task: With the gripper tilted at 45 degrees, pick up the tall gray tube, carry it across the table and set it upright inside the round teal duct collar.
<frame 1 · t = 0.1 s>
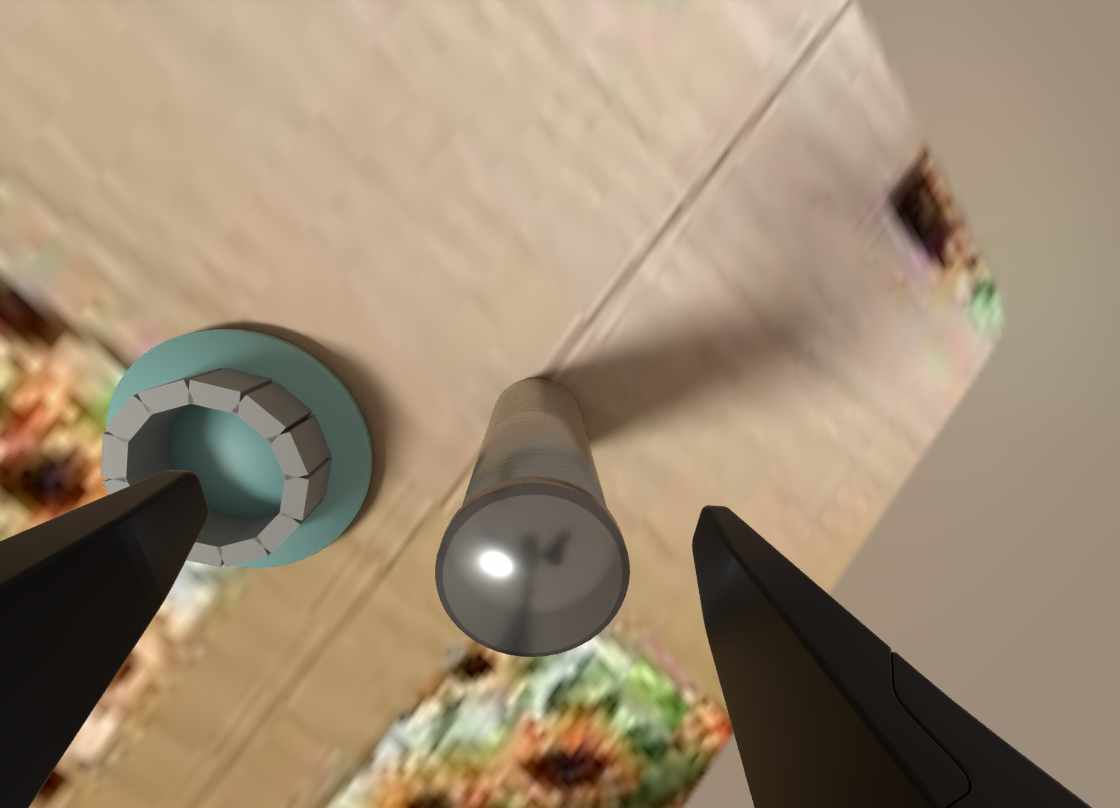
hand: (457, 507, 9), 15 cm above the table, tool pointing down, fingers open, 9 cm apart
gray tube: (536, 421, 25), on the table
duct collar: (248, 451, 25), on the table
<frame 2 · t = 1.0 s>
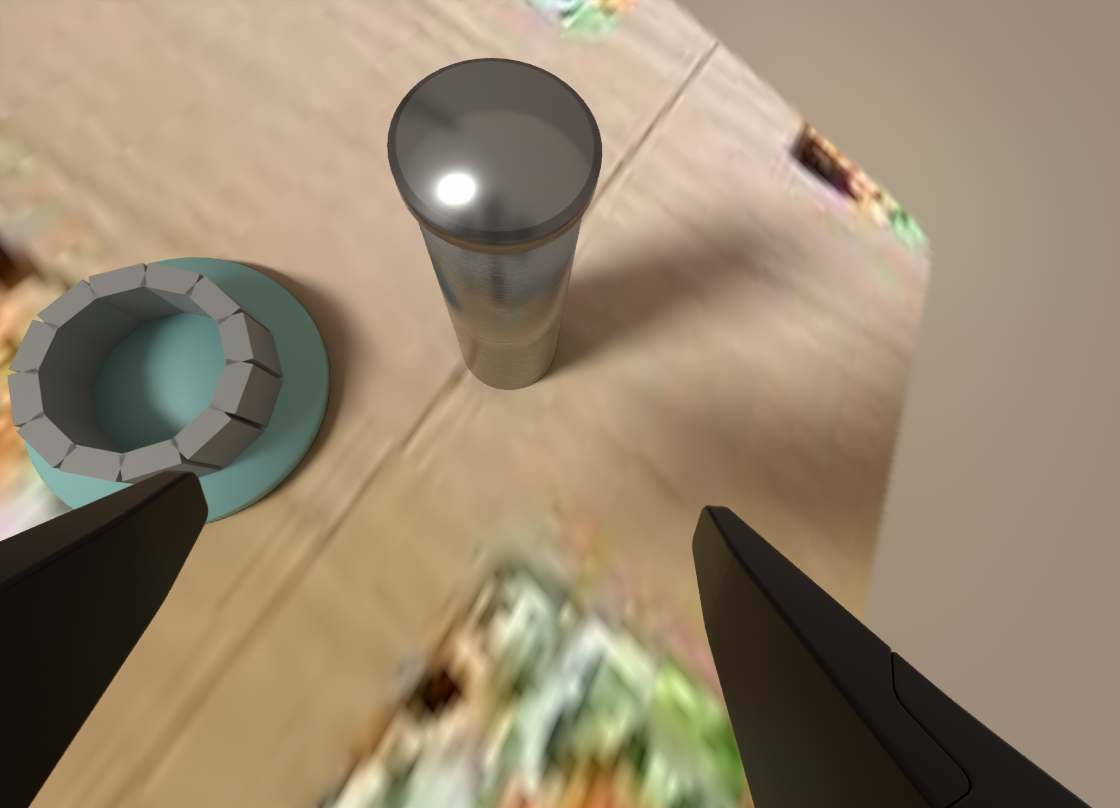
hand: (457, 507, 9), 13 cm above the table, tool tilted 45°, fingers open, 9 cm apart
gray tube: (509, 345, 24), on the table
duct collar: (189, 389, 22), on the table
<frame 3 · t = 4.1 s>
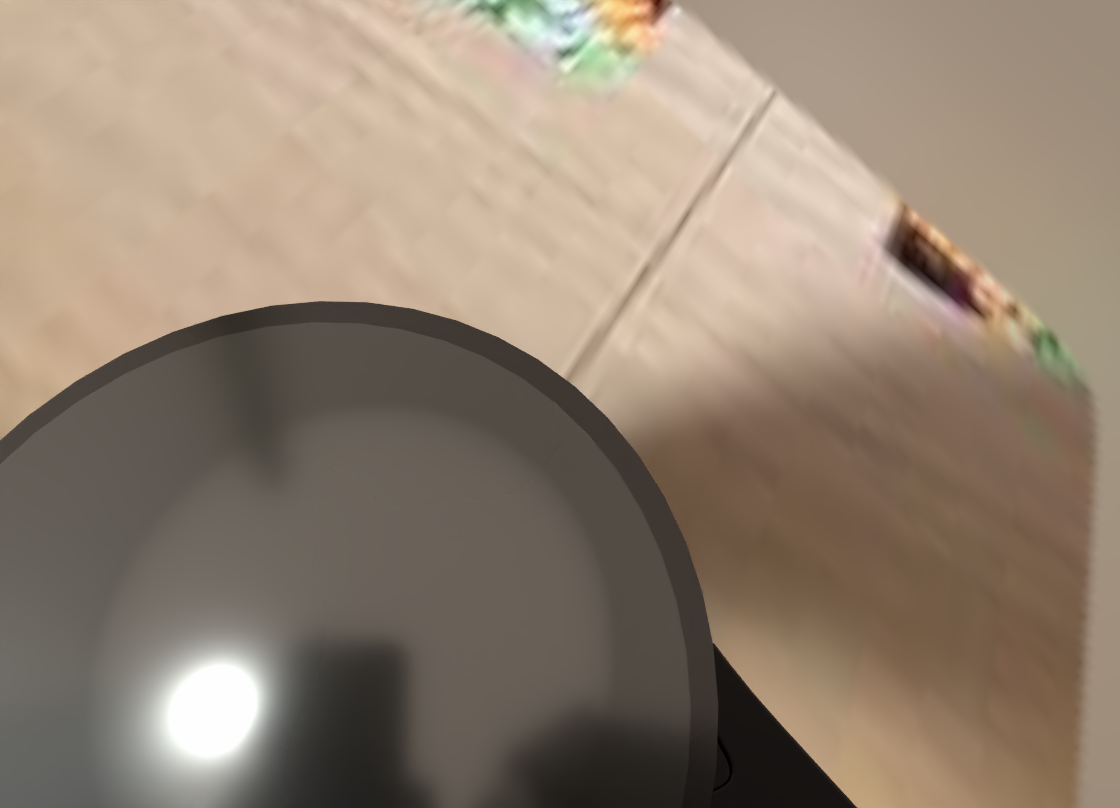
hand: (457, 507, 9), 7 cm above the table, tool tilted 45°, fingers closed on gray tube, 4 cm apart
gray tube: (479, 567, 15), on the table, touching gripper
when the fingers open (9 cm above the table, at t = 7.4 s): gray tube drops 1 cm, resting on duct collar.
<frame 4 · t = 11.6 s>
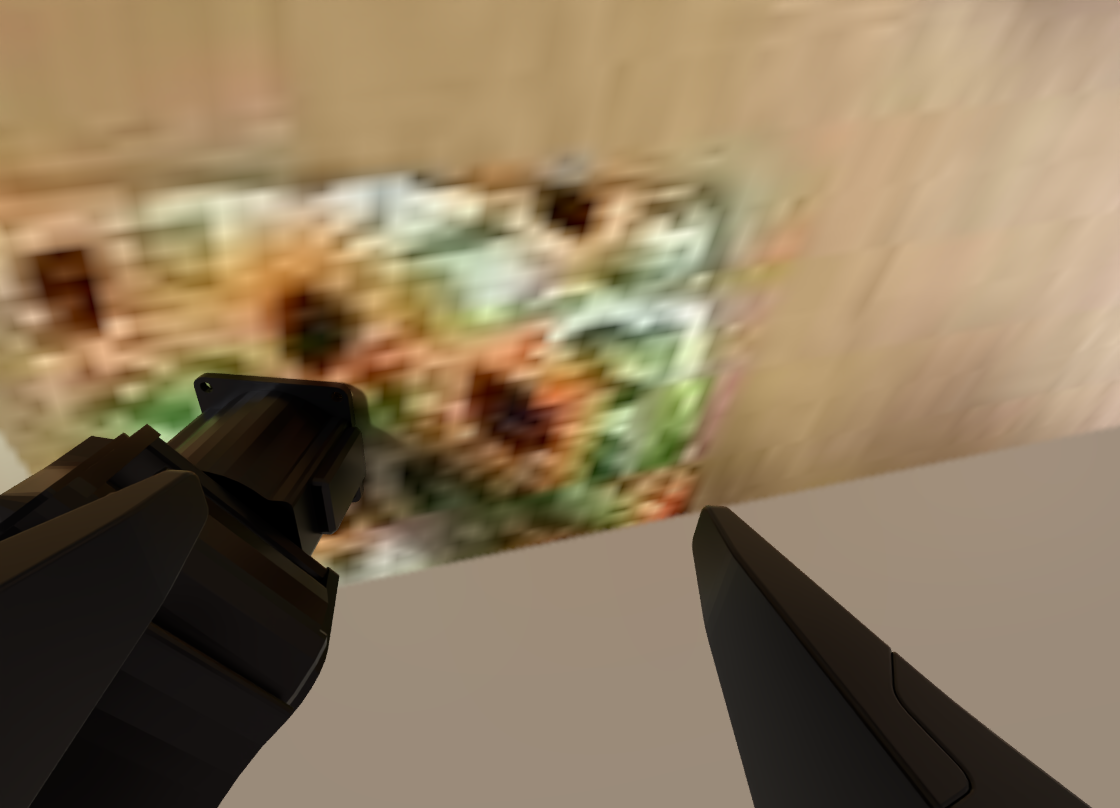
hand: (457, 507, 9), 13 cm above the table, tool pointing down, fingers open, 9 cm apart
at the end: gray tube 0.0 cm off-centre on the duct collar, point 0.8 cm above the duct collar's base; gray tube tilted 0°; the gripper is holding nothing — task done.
